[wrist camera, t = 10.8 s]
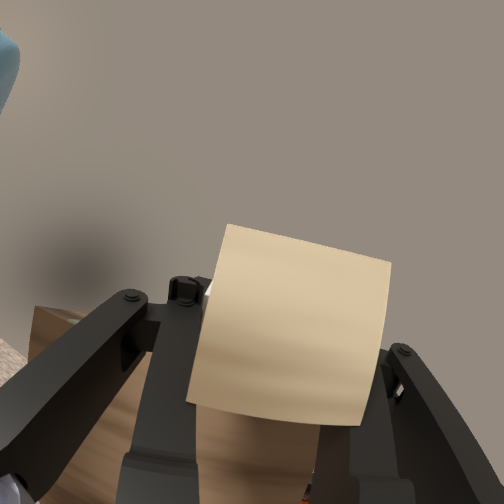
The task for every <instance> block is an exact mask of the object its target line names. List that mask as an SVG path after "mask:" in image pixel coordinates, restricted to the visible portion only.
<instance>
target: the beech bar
mask: <svg viewBox="0 0 504 504" xmlns="http://www.w3.org/2000/svg"><path fill="white" fill-rule="evenodd" d="M390 272H391V262H387V261H383V260H379V259H376V258H372V257H368V256H364V255H360V254H355V253H351V252H348V251H344V250H339V249H335V248H331V247H327V246H322V245H319V244H314V243H310V242H306V241H301V240H298V239H293V238H289V237H285V236H280V235H276V234H271V233H267V232H262V231H258V230H254V229H249V228H245V227H240V226H236V225H231V224H227V227H226V231H225V235H224V239H223V243H222V247H221V251H220V254H219V259H218V262H217V266H216V271H215V274H214V278H213V282H212V287H211V291H210V295H209V299H208V303H207V307H206V312H205V316H204V320H203V324H202V329H201V333H200V338H199V342H198V346H197V351H196V356H195V360H194V365H193V369H192V374H191V379H190V383H189V388H188V393H187V398H186V401H187V402H190V403H194V404H198V405H202V406H206V407H210V408H214V409H218V410H223V411H227V412H232V413H237V414H242V415H248V416H253V417H259V418H266V419H273V420H280V421H288V422H297V423H308V424H322V425H344V426H360V424H361V421H362V418H363V414H364V411H365V407H366V404H367V400H368V397H369V393H370V389H371V385H372V381H373V377H374V373H375V369H376V364H377V359H378V355H379V350H380V344H381V339H382V333H383V327H384V321H385V315H386V307H387V300H388V292H389V283H390Z"/></svg>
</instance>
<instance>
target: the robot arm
mask: <svg viewBox="0 0 504 504" xmlns="http://www.w3.org/2000/svg"><path fill="white" fill-rule="evenodd" d="M19 63H20V51H19V48H18V46H17V45H16V43H14V42H13V41H12V40H11V39H10V38H9V37H8V36H7V35H5V34H4V33H3V32H2V31H1V29H0V114H1V111H2V109H3V107H4V105H5V103H6V101H7V98H8V96H9V94H10V92H11V89H12V87H13V84H14V82H15V79H16V76H17V73H18V70H19ZM212 282H213V280H211V279H207V278H203V277H199V276H198V277H195V278H192V277H188V276H177V277H174V278H172V279H171V280H170V284H169V294H168V301H167V304H152V303H148V297H147V295H146V294H145V293H143V292H141V291H138V290H135V289H126V290H121V291H119V292H117V293H116V294H115V295H113V296H112V297H111V298H109V299H108V300H107V301H105V302H104V303H103V304H101V305H100V306H99V307H97V308H96V309H95V310H93V311H92V312H91V313H89V314H88V315H87V316H86V317H84V318H83V319H82V320H80V321H79V322H78V323H77V324H75V325H74V326H73V327H72V328H70V329H69V330H68V331H67V332H65V333H64V334H63V335H62V336H60V337H59V338H58V339H57V340H55V341H54V342H53V343H52V344H50V345H49V346H48V347H47V348H46V349H44V350H43V351H42V352H41V353H40V354H38V355H37V356H36V357H35V358H34V359H32V360H31V361H30V362H29V363H28V364H27V365H25V366H24V367H23V368H22V369H21V370H20V371H18V372H17V373H16V374H15V375H14V376H13V377H12V378H10V379H9V380H8V381H7V382H6V383H5V384H4V385H3V386H2V387H0V504H35V503H36V502H37V501H39V500H40V499H41V498H42V497H43V496H44V495H45V494H46V493H47V492H48V491H49V490H50V489H51V487H52V486H53V485H54V484H55V482H56V481H57V480H58V478H59V477H60V475H61V474H62V472H63V471H64V469H65V468H66V466H67V465H68V463H69V462H70V460H71V459H72V457H73V456H74V454H75V453H76V451H77V450H78V448H79V447H80V446H81V444H82V443H83V441H84V440H85V438H86V437H87V435H88V434H89V433H90V431H91V430H92V428H93V427H94V425H95V424H96V423H97V421H98V420H99V418H100V417H101V416H102V414H103V413H104V411H105V410H106V409H107V407H108V406H109V404H110V403H111V402H112V400H113V399H114V397H115V396H116V395H117V393H118V392H119V390H120V389H121V388H122V386H123V385H124V384H125V382H126V381H127V379H128V378H129V377H130V375H131V374H132V373H133V371H134V370H135V368H136V367H137V366H138V364H139V363H140V362H141V360H142V359H143V358H144V356H145V355H146V352H152V356H151V360H150V364H149V367H148V371H147V375H146V379H145V383H144V387H143V391H142V396H141V400H140V404H139V409H138V413H137V418H136V422H135V427H134V432H133V437H132V442H131V447H130V450H129V452H126V453H125V455H124V457H123V460H122V464H121V469H120V475H119V481H118V487H117V494H116V501H115V504H200V498H199V474H198V464H197V462H196V404H194V403H190V402H187V401H186V398H187V393H188V388H189V383H190V379H191V374H192V369H193V365H194V360H195V356H196V351H197V346H198V342H199V338H200V333H201V329H202V324H203V320H204V316H205V312H206V307H207V303H208V299H209V295H210V291H211V287H212ZM401 384H402V385H403V388H404V390H403V392H402V393H401V394H400V396H398V395H397V393H396V392H397V390H398V389H399V387H400V386H401ZM308 504H504V486H503V485H502V484H501V483H500V481H499V479H498V477H497V475H496V474H495V472H494V470H493V468H492V466H491V464H490V463H489V461H488V459H487V457H486V456H485V454H484V452H483V450H482V449H481V447H480V445H479V444H478V442H477V440H476V439H475V437H474V436H473V434H472V432H471V431H470V429H469V428H468V426H467V424H466V423H465V421H464V420H463V418H462V417H461V415H460V414H459V412H458V411H457V409H456V408H455V406H454V405H453V404H452V402H451V400H450V399H449V398H448V396H447V394H446V393H445V392H444V390H443V389H442V388H441V386H440V384H439V383H438V382H437V380H436V379H435V378H434V376H433V375H432V373H431V372H430V371H429V369H428V368H427V367H426V365H425V364H424V362H423V361H422V360H421V358H420V357H419V356H418V355H417V353H416V352H415V351H414V350H413V349H412V348H410V347H409V346H408V345H405V344H401V343H394V344H392V345H391V347H390V349H389V351H386V350H383V349H380V350H379V355H378V359H377V364H376V369H375V373H374V377H373V381H372V385H371V389H370V393H369V397H368V400H367V404H366V407H365V411H364V414H363V418H362V421H361V424H360V426H344V425H322V424H320V433H319V440H318V448H317V455H316V461H315V468H314V474H313V479H312V485H311V490H310V496H309V501H308Z"/></svg>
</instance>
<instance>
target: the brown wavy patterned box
mask: <svg viewBox="0 0 504 504" xmlns="http://www.w3.org/2000/svg"><path fill="white" fill-rule="evenodd" d="M88 314H89V313H86V312H77V311H69V310H61V309H53V308H48V307H41V306H35V309H34V315H33V321H32V328H31V335H30V343H29V353H28V363H29V362H30V361H31V360H32V359H34V358H35V357H36V356H37V355H38V354H40V353H41V352H42V351H43V350H44V349H46V348H47V347H48V346H49V345H50V344H52V343H53V342H54V341H55V340H57V339H58V338H59V337H60V336H62V335H63V334H64V333H65V332H67V331H68V330H69V329H70V328H72V327H73V326H74V325H75V324H77V323H78V322H79V321H80V320H82V319H83V318H84V317H86V316H87V315H88ZM151 356H152V352H146V355H145V356H144V358H143V359H142V360H141V362H140V363H139V364H138V366H137V367H136V368H135V370H134V371H133V373H132V374H131V375H130V377H129V378H128V379H127V381H126V382H125V384H124V385H123V386H122V388H121V389H120V390H119V392H118V393H117V395H116V396H115V397H114V399H113V400H112V402H111V403H110V404H109V406H108V407H107V409H106V410H105V411H104V413H103V414H102V416H101V417H100V418H99V420H98V421H97V423H96V424H95V425H94V427H93V428H92V430H91V431H90V433H89V434H88V435H87V437H86V438H85V440H84V441H83V443H82V444H81V446H80V447H79V448H78V450H77V451H76V453H75V454H74V456H73V457H72V459H71V460H70V462H69V463H68V465H67V466H66V468H65V469H64V471H63V472H62V474H61V475H60V477H59V478H58V480H57V481H56V482H55V484H54V485H53V486H52V487H51V489H50V490H49V491H48V492H47V493H46V494H45V495H44V496H43V497H42V498H41V499H40V500H39V502H40V504H115V501H116V494H117V487H118V481H119V475H120V469H121V464H122V460H123V457H124V455H125V453H126V452H129V450H130V447H131V442H132V437H133V432H134V427H135V422H136V418H137V413H138V409H139V404H140V400H141V396H142V391H143V387H144V383H145V379H146V375H147V371H148V367H149V364H150V360H151ZM319 433H320V424H308V423H297V422H288V421H280V420H273V419H266V418H259V417H253V416H248V415H242V414H237V413H232V412H227V411H223V410H218V409H214V408H210V407H206V406H202V405H198V404H196V462H197V464H198V474H199V498H200V504H300V503H301V500H302V498H303V496H304V493H305V491H306V488H307V486H308V483H309V481H310V478H311V475H312V473H313V470H314V467H315V461H316V455H317V448H318V440H319Z"/></svg>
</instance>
